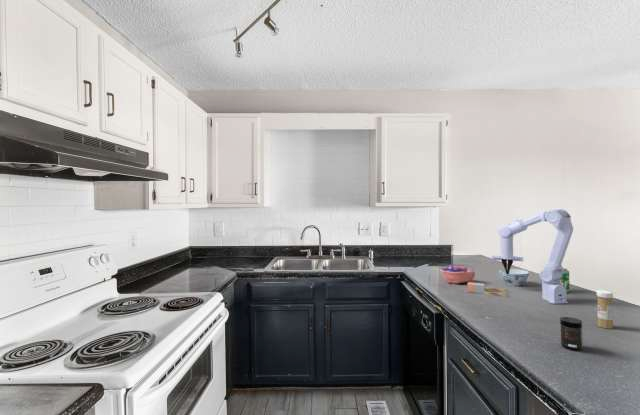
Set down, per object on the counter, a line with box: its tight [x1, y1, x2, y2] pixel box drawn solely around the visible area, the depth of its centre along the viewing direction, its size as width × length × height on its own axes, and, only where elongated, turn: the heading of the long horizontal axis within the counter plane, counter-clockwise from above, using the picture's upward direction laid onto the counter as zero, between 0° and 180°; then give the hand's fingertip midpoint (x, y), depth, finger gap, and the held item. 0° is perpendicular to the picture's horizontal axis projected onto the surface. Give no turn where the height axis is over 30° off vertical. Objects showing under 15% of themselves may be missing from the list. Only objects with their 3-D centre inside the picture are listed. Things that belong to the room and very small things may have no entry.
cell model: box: [439, 264, 476, 285], centre depth 190 cm, size 17×20×11 cm
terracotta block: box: [466, 281, 477, 293], centre depth 170 cm, size 4×5×4 cm
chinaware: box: [498, 268, 530, 287], centre depth 184 cm, size 15×15×8 cm
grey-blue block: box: [475, 282, 486, 294], centre depth 168 cm, size 4×5×4 cm
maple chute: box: [467, 287, 509, 298], centre depth 167 cm, size 20×14×2 cm
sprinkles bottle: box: [596, 289, 614, 330], centre depth 120 cm, size 5×5×14 cm
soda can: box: [560, 267, 571, 294], centre depth 167 cm, size 8×8×12 cm
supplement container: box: [559, 316, 584, 352], centre depth 104 cm, size 6×6×9 cm
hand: (507, 273), depth 170 cm, fingers closed
